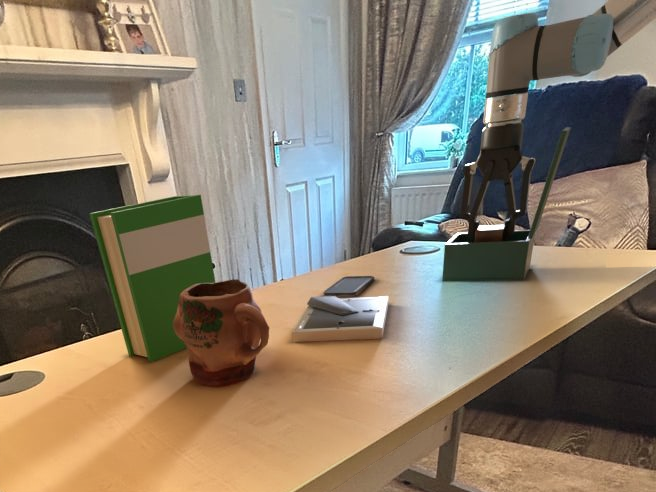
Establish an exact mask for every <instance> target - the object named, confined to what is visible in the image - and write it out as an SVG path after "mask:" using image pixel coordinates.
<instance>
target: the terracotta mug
mask: <svg viewBox="0 0 656 492" xmlns="http://www.w3.org/2000/svg"><path fill="white" fill-rule="evenodd" d="M173 327H174V330H175V332H176V334H177V335H178V337H179V338H181V339H182V340H183V341H184V343H185V344H186V347H187V348H186V350H187V357H188V366H189V371H190V373H191V375H192V379H194V381H195V382H196V383H197V384H199V385H201V386H205V387H208V388H226V387H229V386H232V385H235V384H239V383H241V382H244V381H245V380H248V379H249V378H250V377H251V376H253V374H254V372H255V369H256V360H257V356H258V355H259V354H260V353H261V351H262V350H263V349H264V348H265V347H267V345H268V343H269V340H270V339H269V338H270V326H269V324H268V322H267V320H266V318H265V316H264V314H263V311H262V309H261V307H260V306H259V304H258V303H257V301H255V299H254V295H253V293H252V290H251V287H250V286H249V285H248V284H247V283H246V282H245V281H241V280H240V279H238V278H237V279H228V280H220V281H215V283H202V284H195V285H192V286H191V287H189V288H187V289H185V290H184V291H182V293H181V294H180V296H179V303H178V309H177V313H176V316H175V318H174V322H173Z"/></svg>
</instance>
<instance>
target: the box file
mask: <svg viewBox="0 0 656 492" xmlns="http://www.w3.org/2000/svg"><path fill="white" fill-rule="evenodd" d="M530 230H531V229H521V230H518V229H517V230H515V231H514V234H513V236H512V237H508V241H504V242H478V243H472V238H469V239H468V232H456V233H455V234H454V235H453V236H452V237H451V238H450V239H449V240H448V241H447V242H446V243H444V249H443V264H442V280H441V281H442V282H508V281H510V282H511V281H512V282H513V281H514V282H517V281H524V280H525V278H526V276H527V274H528V272H529V270H530V269H531V264H532V263H531V261H532V255H533V249H534V243H535V237H536V233H535V234H534V236H533V238H532V239H528V236H529V233H530Z"/></svg>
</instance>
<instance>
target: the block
mask: <svg viewBox="0 0 656 492" xmlns="http://www.w3.org/2000/svg"><path fill="white" fill-rule="evenodd" d="M504 225H505V224H488V225H486V224H485V225H479V228H478V229H477V230H476V232H475V242H474V243H478V242H503V234H504Z"/></svg>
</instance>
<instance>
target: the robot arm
mask: <svg viewBox="0 0 656 492" xmlns="http://www.w3.org/2000/svg"><path fill="white" fill-rule="evenodd" d="M655 19H656V0H607V1H606V2H605V3H604V4H603V5H602V6H601V7H600V8H598V9H597V10H596V11H595V12H594V13H592V14H588V15H587V16H584V17H578V18H574V19H569V20H565V21H561V22H556V23H552V24H547V25H546V24H545V25H539V15H538V14H537V13H535V12H528V13H527V12H526V13H522V14H515V15H510V16H507V17H503V18H500V19H499V20H498V21H497V22H495V25H494V26H493V29H492V35H491V41H490V49H489V52H488V67H487V78H486V79H487V80H486V91H485V98H484V109H483V119H482V123H483V124H484V125H485V126H484V127H483V129H482V130H481V139H480V142H481V143H480V150H479V155H478V157H477V159H476V160H475V161H473V162H471V163H467V164H465V165H464V166H463V167H462V172H463V177H464V182H463V191H462V199H461V208H460V216H459V217H460V220H464V221H467V222H468V226H467V227H468V228H467V233H468V239H469V238H472V243H474V242H475V232H476V230H477V229H478V228H479V227H480V222H481V220H480V219H478V215H479V212H480V209H481V206H482V204H483V201H484V198H485V195H486V192H487V190H488V187H489V185H490V183H491V182H493V181H495V180H498V181H503V185H504V192H505V199H506V205H507V213H508V218H506V219H505V221H504V224H503V225H504V234H503V242H504V241H508V237H512V236H513V234H514V231H516V222H517V219H518V218H521V217H524V216H525V215H526V213H527V211H528V204H529V193H530V184H531V178H532V177H531V176H532V171H533V169H534V166H535V164H536V161H537V160H536V158H535V157H527V156H523V155H524V154H523V151H522V143H523V134H524V127H525V125H524V123H523V122H522V120H524V119H525V118H526V113H527V104H528V99H529V89H530V88H529V87H530V84H531V83H530V82H532V81H539V80H546V79H554V78H561V77H574V78H578V77H579V78H580V77H584V76H587V75H589V74H590V73H591V72H595V71H599V70H601V69H602V68H603V67H604V65H605V63H606V61H607V59H608V57H609V56H610V55H611V54H613V53H614V52H615V51H617V50H618V49H619V48H620V47H622V46H623V45H624V44H625V43H627V42H628V41H629V40H630V39H631V38H632V37H634V36H635V35H637V34H638V33H639V32H641V30H643V29H644V28H645V27H647V26H648V25H649V24H651V23H652V22H653V21H655ZM520 164H521V170H522V171H523V174H522V180H521V181H522V182H521V191H520V202H519V209H518V210H517V204H516V197H515V190H514V182H513V174H512V173H513V172H514V171H515V170H516V168H517V167H518V165H520ZM477 168H478V169H479V172H480V173H481V175H482V176H483V177H482V179H481V182H480V185H479V188H478V192H477V193H476V197H475V200H474V203H473V206H472V209H471V211H470V204H471V196H472V187H473V181H474V180H473V179H474V175H475V174H476V170H477ZM477 219H478V220H477Z"/></svg>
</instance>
